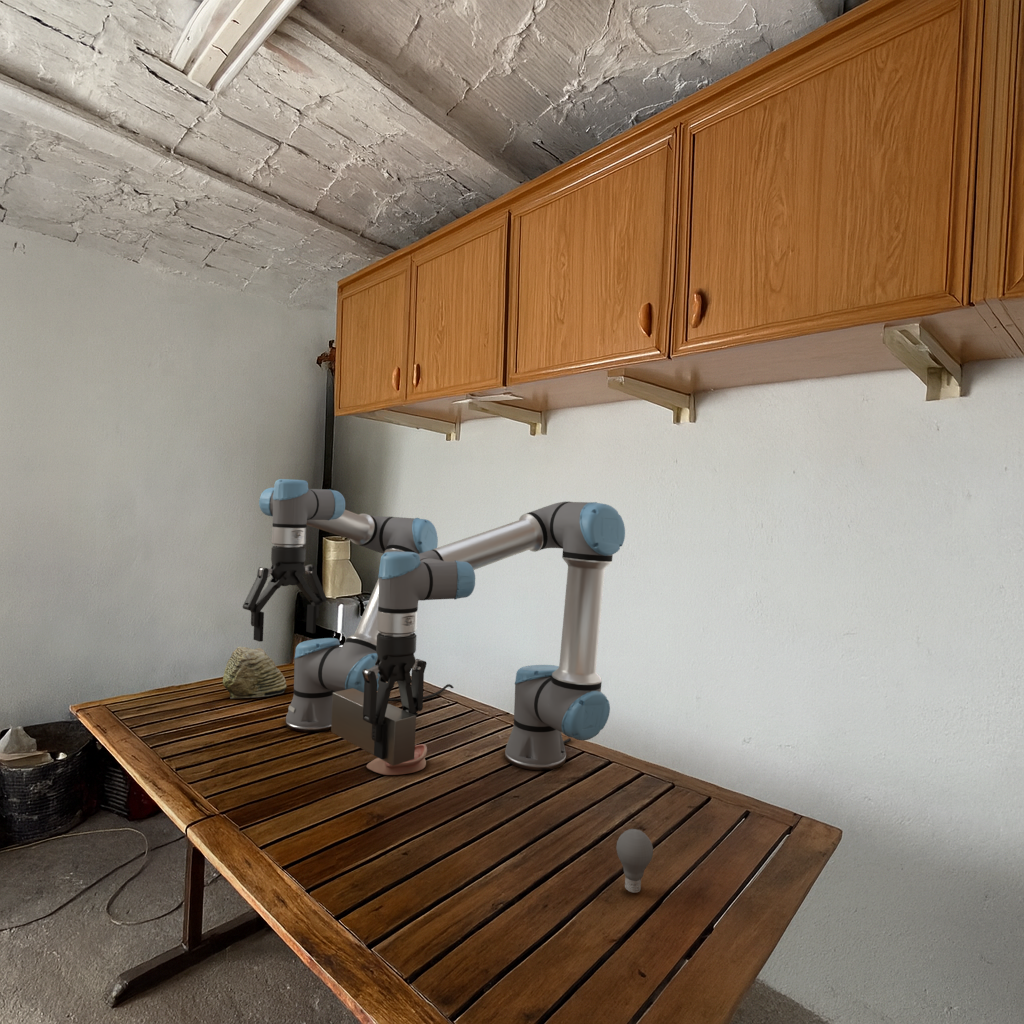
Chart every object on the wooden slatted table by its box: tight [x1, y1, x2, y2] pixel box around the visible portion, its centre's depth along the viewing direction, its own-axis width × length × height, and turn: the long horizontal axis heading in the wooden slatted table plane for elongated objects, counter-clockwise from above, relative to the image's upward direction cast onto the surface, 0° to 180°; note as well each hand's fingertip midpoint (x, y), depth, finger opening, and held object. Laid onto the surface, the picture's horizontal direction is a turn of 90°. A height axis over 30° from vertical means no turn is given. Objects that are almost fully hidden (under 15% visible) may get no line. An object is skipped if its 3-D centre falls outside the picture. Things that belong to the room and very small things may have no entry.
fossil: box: [222, 646, 288, 699], centre depth 198 cm, size 9×18×15 cm, turn 132°
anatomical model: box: [366, 743, 428, 776], centre depth 150 cm, size 13×4×12 cm
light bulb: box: [615, 828, 654, 894], centre depth 106 cm, size 6×6×10 cm
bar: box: [330, 688, 417, 766], centre depth 127 cm, size 22×5×8 cm, turn 46°
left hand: (285, 636), depth 148 cm, fingers open, 13 cm apart
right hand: (391, 752), depth 122 cm, fingers closed on bar, 5 cm apart
